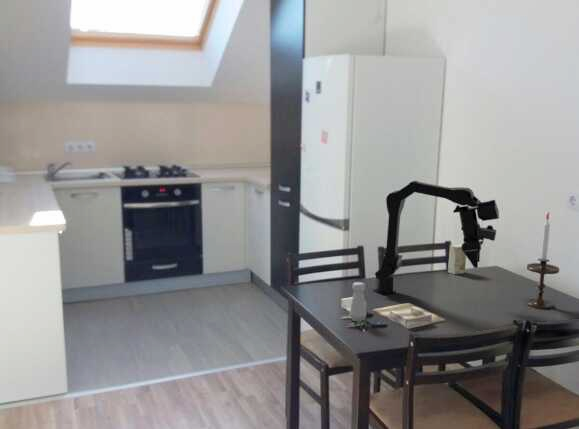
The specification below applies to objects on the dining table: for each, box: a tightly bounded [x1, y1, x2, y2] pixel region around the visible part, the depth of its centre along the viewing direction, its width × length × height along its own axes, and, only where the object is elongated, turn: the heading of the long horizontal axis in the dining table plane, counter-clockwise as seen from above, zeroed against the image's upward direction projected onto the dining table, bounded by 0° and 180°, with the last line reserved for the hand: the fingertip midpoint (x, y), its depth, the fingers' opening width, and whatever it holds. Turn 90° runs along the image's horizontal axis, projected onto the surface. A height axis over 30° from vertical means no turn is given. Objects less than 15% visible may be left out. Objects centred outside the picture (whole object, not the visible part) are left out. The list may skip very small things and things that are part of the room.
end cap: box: [340, 296, 367, 312], centre depth 212 cm, size 6×7×3 cm
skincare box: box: [447, 243, 467, 275], centre depth 259 cm, size 6×4×12 cm
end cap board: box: [372, 302, 446, 329], centre depth 205 cm, size 19×16×3 cm
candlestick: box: [526, 211, 560, 310], centre depth 215 cm, size 11×11×35 cm
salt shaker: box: [348, 281, 367, 322], centre depth 200 cm, size 6×6×13 cm
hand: (477, 264), depth 215 cm, fingers open, 9 cm apart
